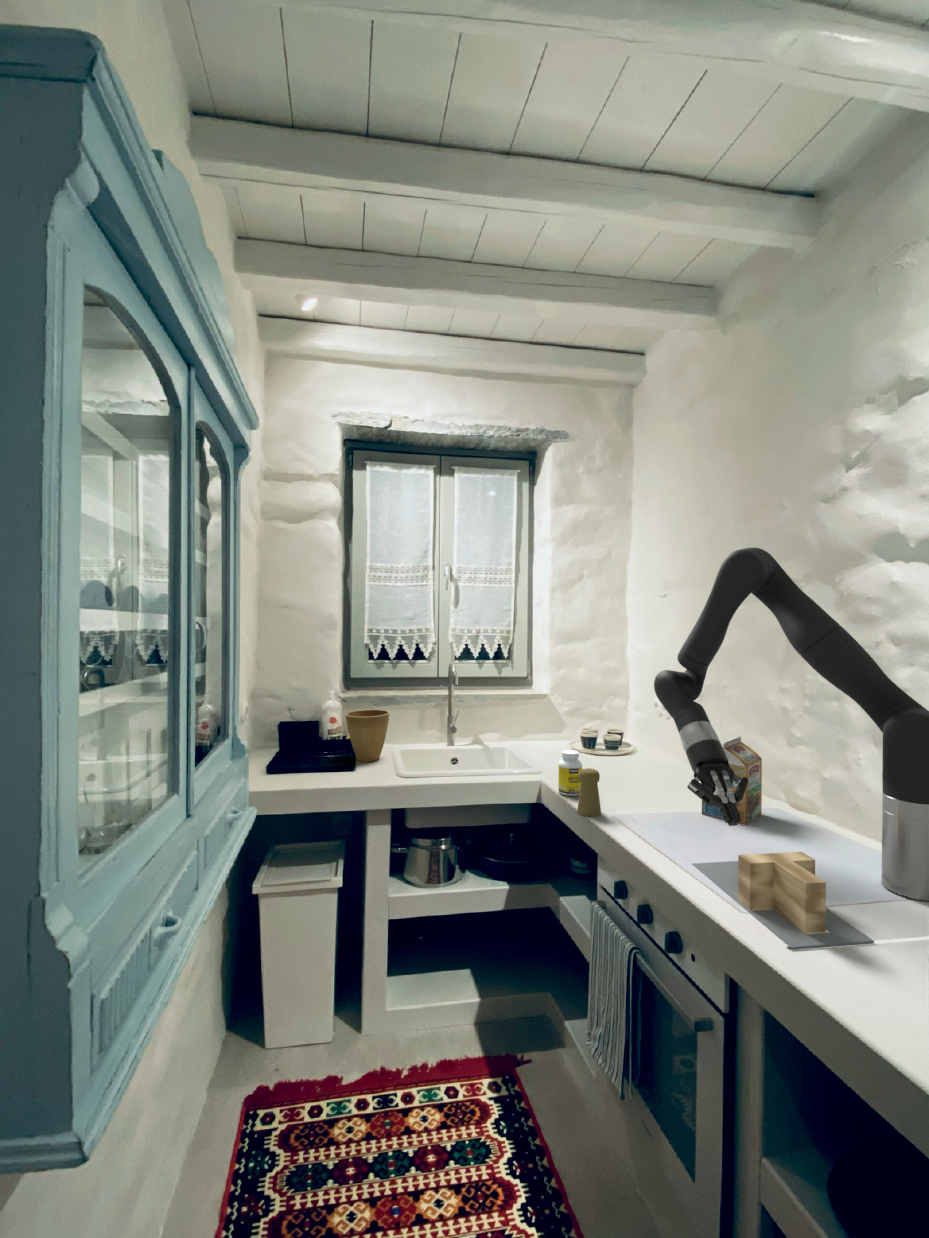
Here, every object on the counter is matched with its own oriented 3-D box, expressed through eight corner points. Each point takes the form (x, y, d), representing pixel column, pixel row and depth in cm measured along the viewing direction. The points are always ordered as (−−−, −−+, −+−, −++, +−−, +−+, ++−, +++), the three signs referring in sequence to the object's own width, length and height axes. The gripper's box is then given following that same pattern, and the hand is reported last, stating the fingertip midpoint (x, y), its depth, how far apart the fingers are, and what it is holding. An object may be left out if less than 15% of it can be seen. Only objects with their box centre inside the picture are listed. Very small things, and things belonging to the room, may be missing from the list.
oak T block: (801, 895, 107) (801, 851, 107) (849, 930, 96) (850, 880, 96) (738, 900, 106) (738, 855, 106) (780, 935, 94) (780, 885, 94)
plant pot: (391, 753, 214) (390, 708, 214) (387, 764, 200) (387, 716, 199) (348, 754, 214) (348, 709, 213) (342, 765, 199) (342, 716, 198)
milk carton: (719, 804, 158) (719, 732, 158) (761, 814, 151) (762, 739, 151) (701, 814, 151) (702, 739, 151) (745, 825, 143) (745, 746, 143)
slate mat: (756, 861, 123) (756, 859, 123) (873, 943, 93) (873, 940, 93) (691, 865, 121) (691, 863, 121) (790, 949, 91) (790, 947, 91)
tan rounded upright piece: (584, 806, 157) (584, 764, 157) (605, 811, 153) (605, 768, 153) (572, 813, 152) (572, 769, 152) (594, 818, 148) (594, 774, 148)
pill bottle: (563, 797, 165) (563, 755, 164) (555, 790, 171) (555, 749, 171) (585, 795, 166) (585, 754, 166) (576, 788, 172) (576, 748, 172)
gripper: (679, 738, 126) (710, 816, 114) (738, 736, 128) (775, 813, 116) (667, 757, 131) (696, 834, 120) (724, 755, 133) (757, 830, 121)
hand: (734, 823), depth 118 cm, fingers closed
